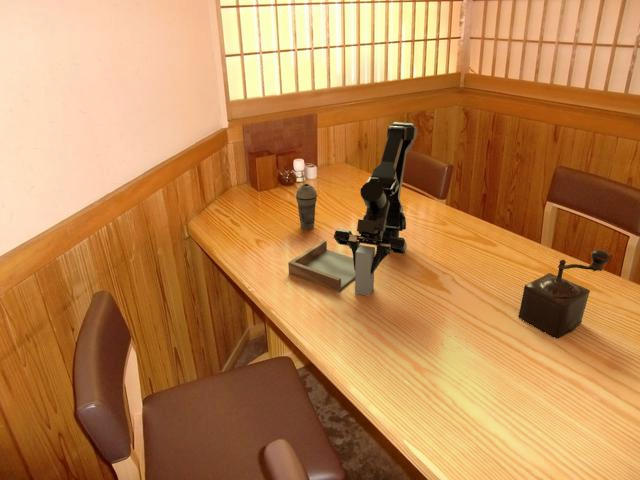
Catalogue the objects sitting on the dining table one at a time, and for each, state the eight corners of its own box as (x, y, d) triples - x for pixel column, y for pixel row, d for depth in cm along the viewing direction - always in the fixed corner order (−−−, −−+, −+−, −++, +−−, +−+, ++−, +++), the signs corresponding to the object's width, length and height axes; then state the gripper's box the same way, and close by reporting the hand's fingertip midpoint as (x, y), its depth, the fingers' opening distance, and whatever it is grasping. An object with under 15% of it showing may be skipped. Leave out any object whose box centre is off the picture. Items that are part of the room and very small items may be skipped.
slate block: (359, 285, 127) (360, 245, 121) (373, 288, 126) (375, 247, 120) (354, 293, 124) (355, 251, 118) (369, 296, 122) (370, 254, 117)
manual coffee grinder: (559, 341, 105) (577, 272, 97) (516, 317, 113) (530, 252, 105) (596, 317, 112) (616, 251, 104) (553, 296, 120) (569, 234, 112)
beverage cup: (315, 232, 158) (314, 176, 149) (294, 230, 159) (292, 174, 151) (319, 223, 164) (318, 169, 156) (299, 222, 166) (297, 168, 157)
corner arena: (323, 250, 146) (323, 240, 145) (371, 265, 137) (371, 254, 135) (288, 273, 134) (288, 262, 132) (338, 291, 125) (338, 280, 123)
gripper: (335, 200, 121) (321, 257, 116) (407, 209, 114) (395, 269, 110) (345, 216, 131) (332, 269, 126) (411, 225, 125) (400, 281, 120)
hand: (363, 272), depth 121 cm, fingers closed on slate block, 4 cm apart
